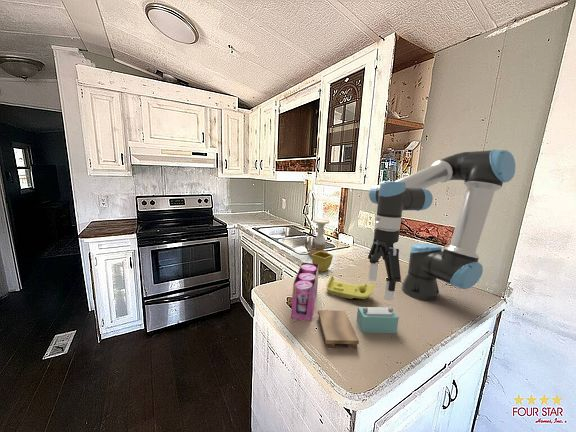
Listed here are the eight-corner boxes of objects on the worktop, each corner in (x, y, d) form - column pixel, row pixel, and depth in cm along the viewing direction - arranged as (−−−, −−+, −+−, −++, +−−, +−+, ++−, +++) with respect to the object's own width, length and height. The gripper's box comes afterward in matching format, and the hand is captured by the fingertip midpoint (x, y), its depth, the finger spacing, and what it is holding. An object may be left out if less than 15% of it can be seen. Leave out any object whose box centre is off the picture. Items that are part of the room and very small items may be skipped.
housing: (388, 322, 87) (391, 304, 86) (396, 333, 81) (399, 313, 80) (356, 321, 87) (358, 303, 85) (361, 332, 81) (364, 313, 79)
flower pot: (332, 269, 133) (333, 254, 131) (323, 274, 127) (324, 258, 125) (319, 265, 139) (320, 250, 137) (310, 269, 132) (311, 254, 131)
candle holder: (314, 260, 147) (316, 222, 142) (308, 254, 157) (309, 219, 153) (330, 259, 150) (333, 222, 146) (323, 253, 160) (325, 218, 156)
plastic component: (324, 289, 106) (332, 272, 113) (327, 299, 109) (334, 283, 116) (370, 299, 95) (375, 280, 102) (372, 310, 99) (376, 292, 106)
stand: (344, 318, 88) (345, 310, 88) (358, 349, 73) (358, 340, 72) (317, 317, 88) (318, 310, 88) (325, 348, 72) (326, 340, 72)
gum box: (311, 324, 84) (313, 288, 82) (289, 320, 86) (291, 285, 83) (317, 292, 107) (319, 263, 105) (300, 290, 109) (301, 261, 106)
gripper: (362, 220, 90) (357, 273, 93) (393, 238, 65) (384, 309, 69) (382, 221, 90) (376, 274, 94) (420, 239, 65) (410, 309, 69)
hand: (379, 289), depth 81 cm, fingers open, 13 cm apart
